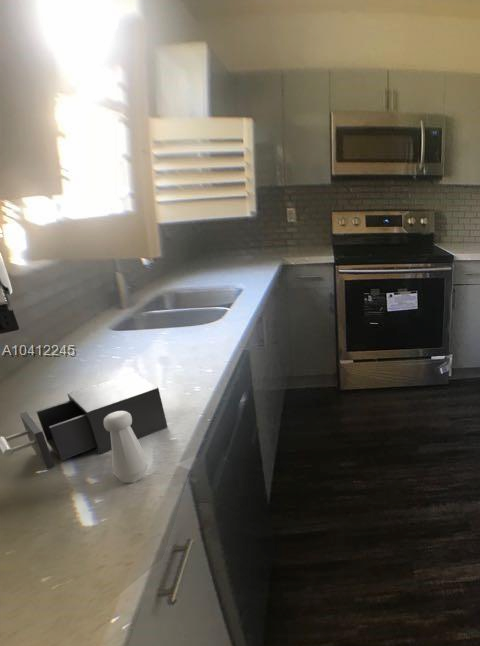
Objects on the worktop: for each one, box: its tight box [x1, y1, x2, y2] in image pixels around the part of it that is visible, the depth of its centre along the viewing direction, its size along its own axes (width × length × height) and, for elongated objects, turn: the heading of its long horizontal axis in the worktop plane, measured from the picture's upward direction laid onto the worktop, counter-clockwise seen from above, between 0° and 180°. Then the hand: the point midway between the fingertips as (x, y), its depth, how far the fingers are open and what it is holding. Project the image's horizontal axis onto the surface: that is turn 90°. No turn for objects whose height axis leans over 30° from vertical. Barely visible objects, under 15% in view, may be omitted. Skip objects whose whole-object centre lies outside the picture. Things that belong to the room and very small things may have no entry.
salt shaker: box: [104, 411, 149, 484], centre depth 82 cm, size 6×6×13 cm
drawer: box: [0, 399, 97, 470], centre depth 90 cm, size 17×11×8 cm, turn 138°
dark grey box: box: [66, 372, 168, 455], centre depth 98 cm, size 14×13×10 cm
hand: (8, 330), depth 86 cm, fingers closed
